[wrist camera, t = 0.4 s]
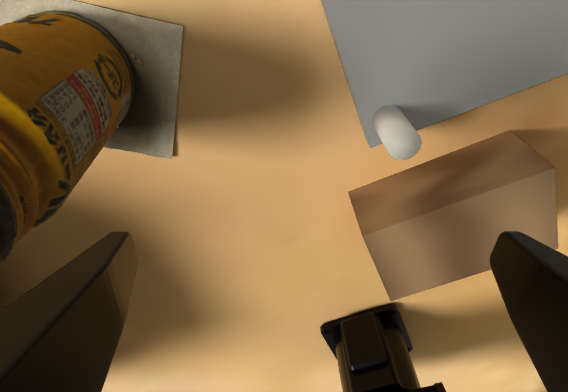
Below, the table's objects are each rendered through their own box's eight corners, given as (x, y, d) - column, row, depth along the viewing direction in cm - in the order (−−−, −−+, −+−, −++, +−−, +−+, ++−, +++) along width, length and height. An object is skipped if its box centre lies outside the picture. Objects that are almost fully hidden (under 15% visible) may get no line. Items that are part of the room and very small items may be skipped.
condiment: (-11, -20, 17) (-381, 53, 7) (184, 25, 18) (97, 137, 9) (14, 128, 21) (-201, 305, 11) (173, 156, 22) (105, 334, 13)
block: (507, 128, 23) (555, 167, 19) (516, 202, 26) (558, 248, 22) (347, 189, 25) (362, 236, 21) (373, 251, 28) (390, 301, 24)
